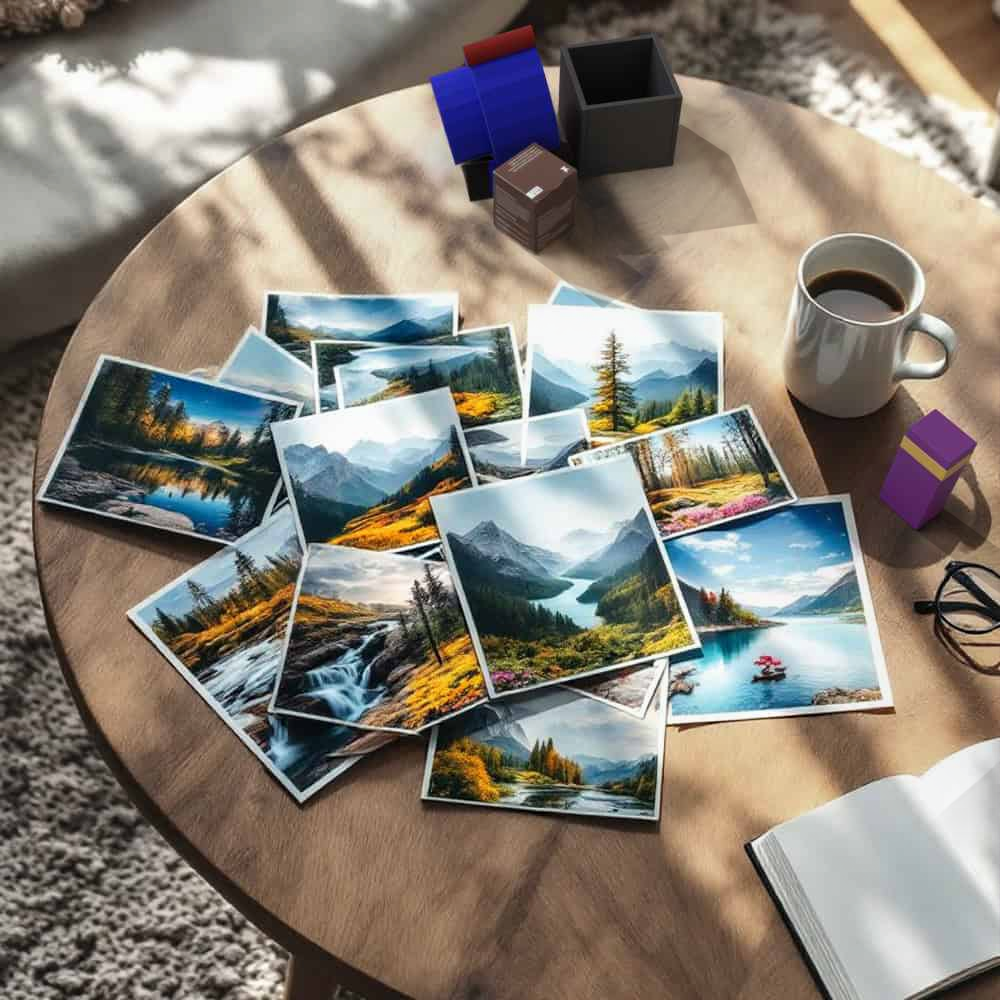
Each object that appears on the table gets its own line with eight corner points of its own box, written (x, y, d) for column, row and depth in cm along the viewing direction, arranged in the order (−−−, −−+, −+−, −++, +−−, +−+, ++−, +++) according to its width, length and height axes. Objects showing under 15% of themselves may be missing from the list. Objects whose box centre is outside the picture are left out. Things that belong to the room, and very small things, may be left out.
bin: (649, 102, 136) (657, 33, 129) (673, 165, 130) (683, 96, 123) (557, 114, 135) (560, 45, 128) (578, 178, 130) (582, 110, 122)
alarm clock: (565, 185, 129) (571, 63, 116) (449, 204, 127) (443, 83, 115) (537, 109, 135) (539, -14, 123) (426, 127, 134) (417, 4, 122)
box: (534, 196, 128) (535, 140, 122) (576, 226, 126) (579, 170, 120) (491, 226, 126) (490, 170, 120) (534, 256, 123) (535, 201, 117)
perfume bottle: (902, 477, 109) (935, 407, 100) (942, 511, 107) (979, 442, 98) (876, 496, 107) (907, 427, 99) (916, 531, 106) (951, 464, 97)
